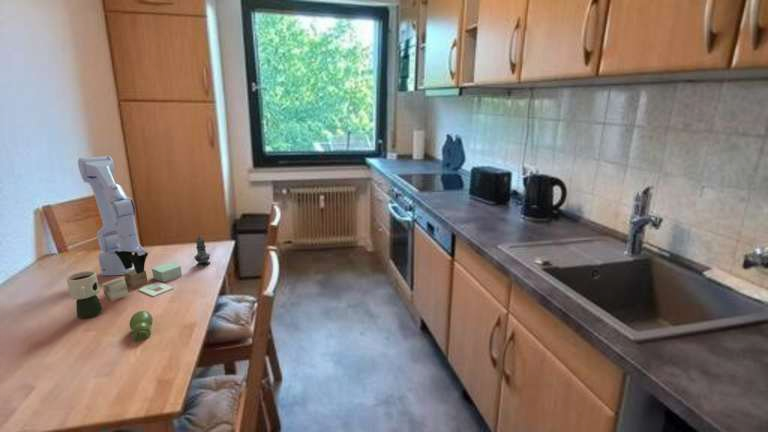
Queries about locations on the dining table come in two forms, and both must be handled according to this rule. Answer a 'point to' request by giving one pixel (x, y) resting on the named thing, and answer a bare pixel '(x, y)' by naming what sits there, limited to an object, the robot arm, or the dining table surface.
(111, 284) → the ash block
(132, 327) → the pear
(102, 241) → the robot arm
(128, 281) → the walnut block
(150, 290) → the card
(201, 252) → the dark green chess piece
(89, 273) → the character mug
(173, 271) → the base block
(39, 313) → the dining table surface
